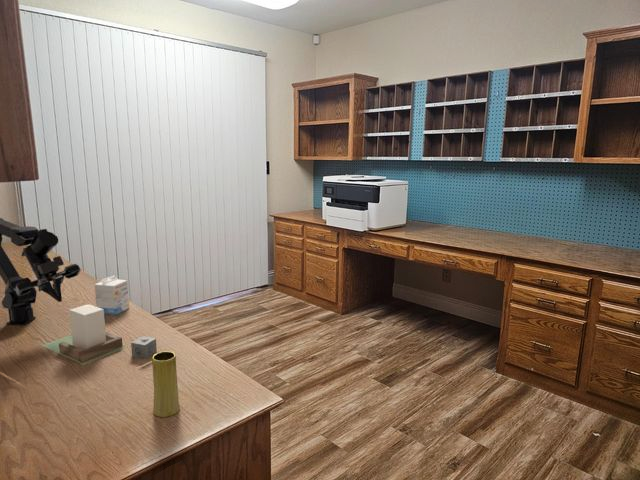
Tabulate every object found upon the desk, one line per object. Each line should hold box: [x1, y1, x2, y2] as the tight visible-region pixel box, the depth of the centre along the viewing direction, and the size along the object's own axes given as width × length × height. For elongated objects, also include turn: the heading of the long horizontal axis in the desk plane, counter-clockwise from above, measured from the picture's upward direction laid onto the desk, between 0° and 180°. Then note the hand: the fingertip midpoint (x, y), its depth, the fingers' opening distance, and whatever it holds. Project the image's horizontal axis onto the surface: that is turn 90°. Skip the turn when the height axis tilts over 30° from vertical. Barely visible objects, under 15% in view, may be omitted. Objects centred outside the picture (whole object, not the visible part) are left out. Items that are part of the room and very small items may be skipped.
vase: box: [151, 350, 181, 418], centre depth 103 cm, size 6×6×14 cm
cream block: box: [68, 303, 106, 350], centre depth 133 cm, size 8×6×13 cm
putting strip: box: [40, 334, 127, 366], centre depth 136 cm, size 23×14×1 cm, turn 59°
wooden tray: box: [59, 331, 124, 363], centre depth 134 cm, size 12×13×3 cm
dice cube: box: [130, 335, 158, 360], centre depth 132 cm, size 5×5×5 cm
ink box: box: [94, 275, 130, 316], centre depth 166 cm, size 9×8×13 cm
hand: (60, 301), depth 142 cm, fingers closed
